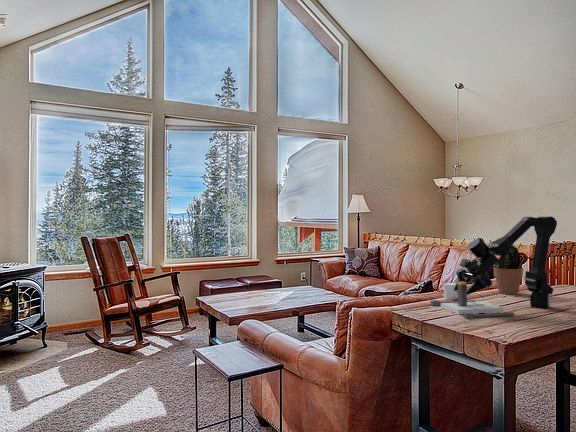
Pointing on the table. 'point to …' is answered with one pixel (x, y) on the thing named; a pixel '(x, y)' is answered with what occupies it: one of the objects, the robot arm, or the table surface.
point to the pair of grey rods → (471, 315)
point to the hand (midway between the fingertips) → (460, 292)
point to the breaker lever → (462, 293)
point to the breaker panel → (472, 307)
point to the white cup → (449, 291)
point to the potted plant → (509, 273)
